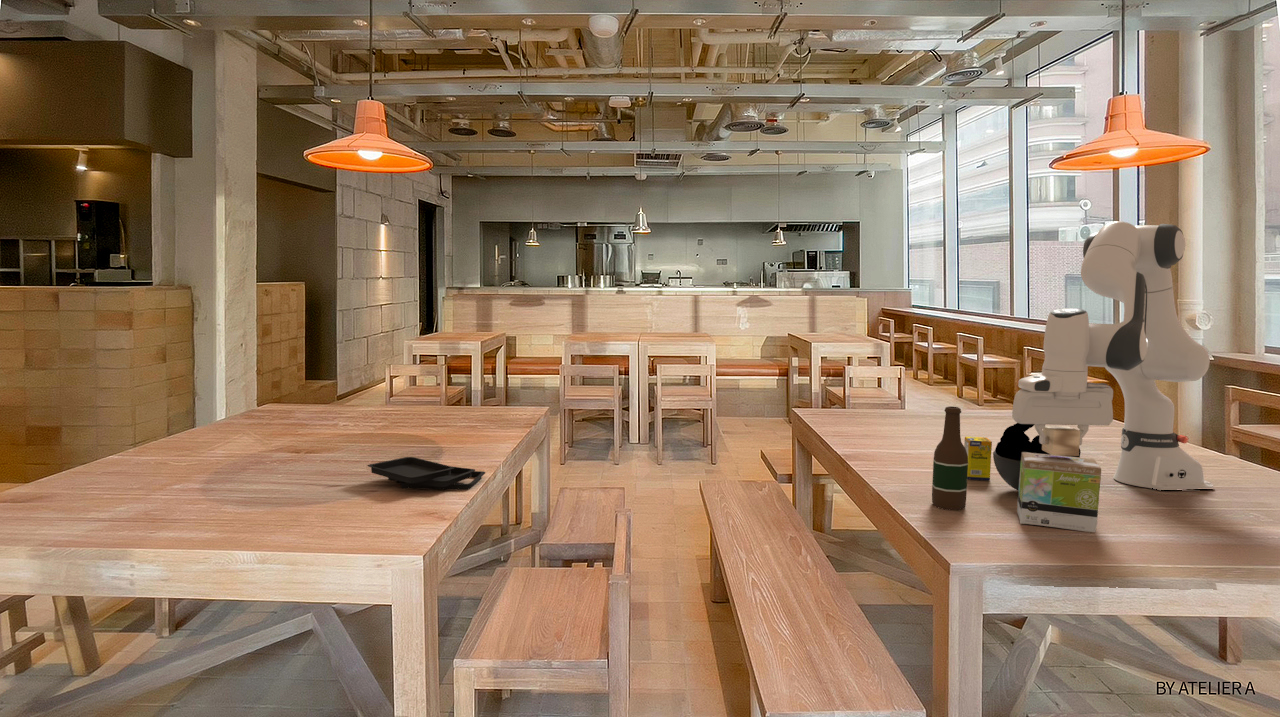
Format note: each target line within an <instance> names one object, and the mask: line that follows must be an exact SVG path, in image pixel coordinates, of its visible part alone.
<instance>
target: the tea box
mask: <svg viewBox="0 0 1280 717" xmlns="http://www.w3.org/2000/svg"><path fill="white" fill-rule="evenodd" d="M1101 480H1102V468H1101V466H1100V465H1099V464H1098V462H1097V461H1096V460H1095V458H1089V457H1080V458H1079V457H1069V456H1058V455H1048V454H1037V453H1027V452H1022V454H1021V465H1020V478H1019V491H1018V490H1017V493H1018V494H1017V508H1016V512H1017V515H1018V519H1019V523H1020V525H1032V526H1033V525H1035V526H1042V527H1043V526H1044V527H1048V528H1049V527H1050V528H1056V529H1064V530H1071V531H1079V532H1084V533H1090V532H1095V533H1096V531H1097V525H1098V514H1099V503H1100V502H1099V501H1100V489H1101Z"/></svg>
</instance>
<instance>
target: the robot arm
mask: <svg viewBox="0 0 1280 717" xmlns="http://www.w3.org/2000/svg"><path fill="white" fill-rule="evenodd" d="M1185 250H1186V240H1185V237H1184V233H1183V231H1182V229H1181V228H1180V227H1179V226H1177V225H1175V224H1167V223H1160V224H1159V225H1157V224H1155V225H1154V224H1151V225H1150V224H1146V225H1145V224H1143V225H1133V224H1132V223H1130V222H1126V221H1121V220H1119V221H1113V222H1109V223H1107V224H1105V225H1104V226H1101V227H1100V229H1099V231H1096V232H1093V233H1091V234H1090V235H1089V236H1087V238H1086V239H1085V240H1084V243H1083V248H1082V255H1083V261H1082V263H1081V267H1080V276H1081V279H1082V282H1083V283H1084V285H1085V286H1086V287H1087V288H1088V289H1089V290H1090V291H1092V292H1093V293H1095V294H1097V295H1098V296H1101V297H1104V298H1108V299H1113V300H1116V301H1118V302H1121V303H1122V304H1123V307H1124V311H1123V313H1124V314H1123V321H1121V322H1117V323H1096V322H1095V323H1094V322H1093V323H1092V322H1091V323H1090V321H1089V320H1090V319H1089V314H1088V311H1086V310H1084V309H1081V308H1076V307H1065V308H1058V309H1054V310H1052V311H1051V312H1049V314H1048V316H1047V320H1046V324H1045V329H1044V336H1043V346H1042V347H1043V349H1042V350H1043V353H1044V361H1043V364H1042V367H1041V368H1042V369H1041V372H1040V373H1036V374H1033V375H1029V376H1025V377H1022V378H1020V379H1019V380H1018V384H1017V386H1018V387H1019V388H1020V389H1019V390H1018V391H1016V393H1015V395H1014V397H1013V398H1014V399H1013V404H1012V409H1011V418H1012V419H1013V421H1014V422H1016V423H1020V424H1035V425H1034V429H1035V431H1036V432H1037V435H1040V437H1039V443H1040V444H1049V439H1050V437H1049V436H1046V435H1045V434H1044V432H1043V429H1045V426H1046V425H1049V426H1064V425H1065V426H1077V429H1078V430H1079V431H1080V445H1079V446H1082V445H1083V439H1084V437H1085V436H1086V434H1087V433H1088V432H1089V428H1090V426H1101V427H1102V426H1110V425H1111V424H1112V423H1113V420H1114V410H1113V398H1114V389H1113V388H1112V386H1110V385H1108V384H1107V383H1104V382H1099V383H1098V382H1097V383H1095V382H1088V374H1089V372H1088V370H1089V369H1088V367H1098V368H1104V369H1105V370H1106V371H1107V372H1108V373H1110V374H1111V375H1112V376H1113V377H1114V379H1115V380H1116V381H1117V383H1118V385H1119V387H1120V389H1121V392H1122V395H1123V398H1124V399H1123V400H1124V424H1123V425H1124V426H1123V428H1121V438H1120V447H1121V450H1120V457H1119V461H1118V464H1117V468H1116V471H1115V473H1114V475H1113V479H1114V480H1115V481H1117V482H1119V483H1123V484H1127V485H1131V486H1136V487H1141V488H1147V489H1152V488H1153V490H1156V489H1157V491H1161V490H1177V489H1198V488H1213V487H1214V485H1213V483H1212V482H1209V481H1208V480H1206V479H1205V478H1204V470H1203V466H1202V464H1201V463H1200V461H1198V460H1197V459H1195V458H1194V457H1193V456H1192V455H1190V454H1189V453H1188V452H1187V451H1185V449H1183V448H1182V447H1180V444H1179V443H1181V444H1184V445H1185V444H1187V443H1188V442H1189V438H1188V436H1186V435H1183V434H1177V433H1176V432H1174V422H1175V420H1174V419H1175V409H1176V408H1175V405H1174V402H1173V401H1172V400H1171V398H1170V397H1168V396H1167V395H1165V394H1163V393H1162V392H1161V390H1160V389H1159V388H1158V386H1157V383H1156V381H1161V382H1162V381H1164V382H1172V383H1186V382H1187V383H1188V382H1196V381H1199V380H1201V378H1203V377H1204V376H1205V375H1206V373H1207V372H1208V370H1209V368H1210V364H1211V363H1210V361H1211V360H1210V359H1211V358H1210V355H1209V353H1208V352H1209V351H1207V349H1206V348H1205V347H1204V346H1203V345H1202V344H1201V343H1198V342H1197V341H1196V340H1194V339H1193V338H1192V336H1190V335H1189V333H1187V331H1186V330H1185V328H1184V327H1183V326H1182V324H1181V322H1180V319H1179V317H1178V315H1177V310H1176V304H1175V303H1176V302H1175V295H1174V293H1175V292H1174V282H1173V276H1172V270H1171V267H1172V266H1174V265H1177V264H1178V263H1179V262H1180V261H1181V260H1182V258H1183V257H1184V253H1185Z"/></svg>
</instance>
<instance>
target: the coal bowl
mask: <svg viewBox="0 0 1280 717" xmlns="http://www.w3.org/2000/svg"><path fill="white" fill-rule="evenodd" d="M1033 427H1035V424H1020V423H1017V422H1016V423H1014V424H1013V425H1010V426H1008V427H1006V429H1004V431H1003V433H1002V436H1001V437H1000V441H999V442H997V444H996V446H995V449H994V450H993V452H992V458H993V462H994V466H995V469H996V471H997V473H998V474H999V476H1000V477H1001V478H1002V480H1003V481H1004V482H1005V483H1006V484H1007V485H1009V486H1010V487H1011V488H1013V489H1014V490H1016V491H1017V492H1018V491H1019V478H1020V465H1021V454H1022V452H1027V453H1037V454H1048V455H1051V454H1049V453H1047V452H1045V451H1043V450H1042V444H1040V443H1039V437H1040V435H1039V434H1037V435H1036V436H1034V437H1033V438H1032V440H1031V438H1030V437H1029V436H1028V435H1027V434H1026V431H1028V430H1029V429H1032V428H1033ZM1030 440H1031V441H1030ZM1081 453H1082V452H1081V448H1080V447H1079V456H1069V457H1079V458H1081Z"/></svg>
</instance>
